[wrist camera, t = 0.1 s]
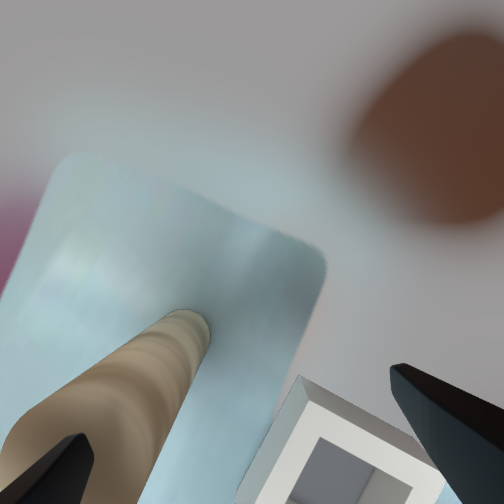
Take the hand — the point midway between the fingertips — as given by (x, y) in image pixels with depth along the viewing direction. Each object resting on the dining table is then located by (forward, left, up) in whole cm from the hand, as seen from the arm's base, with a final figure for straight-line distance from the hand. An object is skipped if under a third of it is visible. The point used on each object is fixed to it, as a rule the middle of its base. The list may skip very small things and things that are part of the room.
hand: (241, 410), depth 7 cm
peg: (-5, +4, -15) cm, 17 cm away
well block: (-9, -13, -15) cm, 22 cm away
